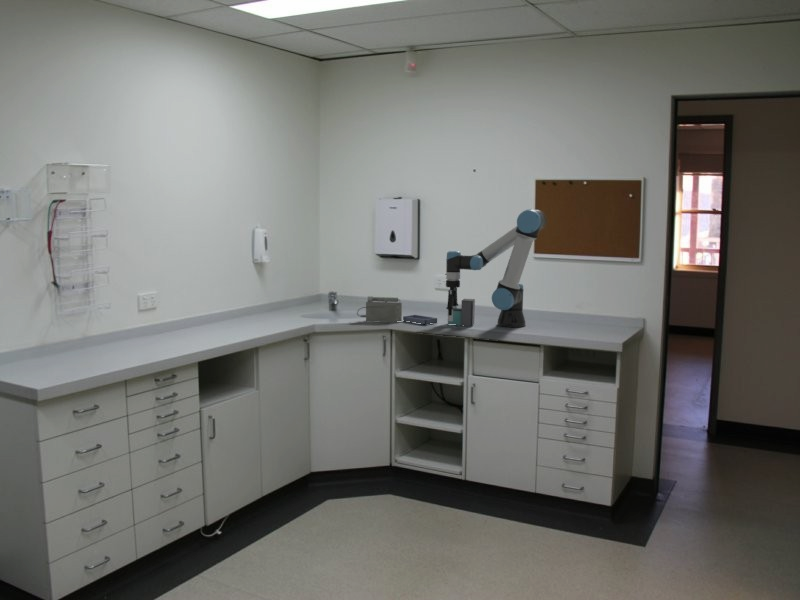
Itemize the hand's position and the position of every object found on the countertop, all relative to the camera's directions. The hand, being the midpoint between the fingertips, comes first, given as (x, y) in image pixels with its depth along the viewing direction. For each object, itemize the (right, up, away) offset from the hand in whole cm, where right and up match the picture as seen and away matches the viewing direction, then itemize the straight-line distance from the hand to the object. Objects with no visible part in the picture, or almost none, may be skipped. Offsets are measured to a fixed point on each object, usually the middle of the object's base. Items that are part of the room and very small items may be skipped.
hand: (452, 319), depth 407 cm
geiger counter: (-40, -2, +8) cm, 41 cm away
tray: (-17, -2, +6) cm, 18 cm away
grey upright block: (+8, -3, -2) cm, 9 cm away
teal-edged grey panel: (+4, -3, -1) cm, 5 cm away
